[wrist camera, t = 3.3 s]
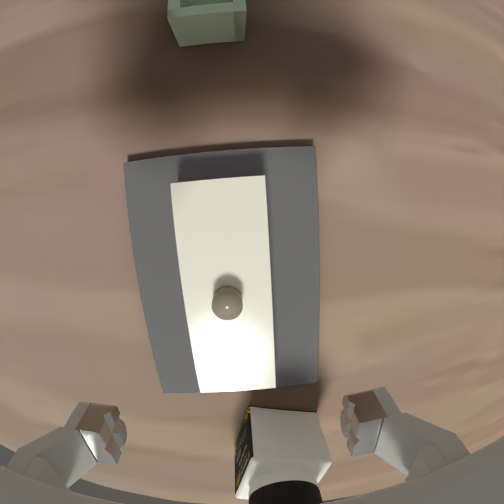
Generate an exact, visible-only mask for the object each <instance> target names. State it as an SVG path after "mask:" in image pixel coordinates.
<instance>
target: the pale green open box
mask: <svg viewBox="0 0 504 504" xmlns="http://www.w3.org/2000/svg"><path fill="white" fill-rule="evenodd" d="M246 12H247V10H246V0H168V12H167V19H168V22H169V24H170V26H171V28H172V31H173V33H174V35H175V37H176V40H177V42H178V44H179V46H180V47H184V46H192V45H201V44H210V43H221V42H236V41H244V40H245V26H246Z"/></svg>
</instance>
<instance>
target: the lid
mask: <svg viewBox="0 0 504 504" xmlns="http://www.w3.org/2000/svg"><path fill="white" fill-rule="evenodd" d="M170 186H171V198H172V208H173V218H174V228H175V237H176V245H177V253H178V261H179V269H180V277H181V284H182V291H183V298H184V304H185V311H186V317H187V323H188V329H189V335H190V341H191V347H192V352H193V358H194V363H195V368H196V373H197V378H198V383H199V388H200V393H206V392H229V391H245V390H258V389H269V388H276V381H275V355H274V331H273V309H272V289H271V269H270V251H269V233H268V216H267V200H266V184H265V175H263V176H247V177H234V178H221V179H210V180H199V181H189V182H179V183H170Z"/></svg>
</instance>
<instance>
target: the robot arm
mask: <svg viewBox="0 0 504 504" xmlns="http://www.w3.org/2000/svg"><path fill="white" fill-rule="evenodd" d="M342 404H343V407H344V409H343V411H342V412H341V417H340V421H341V429H342V432H343V435H344V436H345V437H347V438H348V441H347V446H348V448H349V451H350V453H351V456H352V457H354V456H359V455H364V454H368V453H373V452H375V454H376V455H378V456H379V457H381V458H382V459H383V460H385V461H386V462H388V463H389V464H391V465H392V466H393V467H395V468H396V469H398V470H399V471H401V472H402V473H404V474H405V475H407V478H406V479H405V481H404V482H403V483H400V484H397V485H394V486H391V487H388V488H384V489H381V490H378V491H374V492H370V493H367V494H363V495H359V496H355V497H351V498H346V499H342V500H337V501H332V502H327V503H321V504H504V436H503V437H501V438H500V439H498V440H496V441H495V442H493V443H491V444H489V445H487V446H486V447H484V448H482V449H480V450H478V451H476V452H474V453H472V454H470V453H469V451H468V450H467V449H466V447H465V446H464V444H463V443H462V442H461V440H460V439H459V438H458V436H457V435H456V434H455V433H453V432H450V431H448V430H445V429H443V428H440V427H438V426H436V425H433V424H431V423H428V422H426V421H424V420H421V419H419V418H417V417H414V416H412V415H410V414H408V413H401V411H400V410H399V408H398V407H397V405H396V404H395V402H394V400H393V399H392V397H391V396H390V394H389V393H388V391H387V390H386V388H385V387H379V388H375V389H371V390H367V391H362V392H358V393H353V394H348V395H344V397H343V401H342ZM119 415H120V412H119V410H118V408H117V407H116V406H112V405H104V404H97V403H88V402H80V403H78V405H77V406H76V408H75V410H74V411H73V413H72V414H71V416H70V418H69V419H68V421H67V423H66V424H65V426H64V427H59V428H57V429H55V430H54V431H52V432H50V433H48V434H46V435H44V436H42V437H40V438H39V439H37V440H35V441H33V442H31V443H29V444H27V445H25V446H23V447H21V448H19V449H18V450H17V452H16V453H15V455H14V456H13V458H12V460H11V461H10V463H9V464H8V466H7V467H6V468H5V467H3V466H1V465H0V504H122V503H117V502H112V501H107V500H102V499H98V498H93V497H89V496H85V495H82V494H78V493H74V492H71V491H70V490H69V489H68V487H70V486H71V485H72V484H73V483H75V482H76V481H77V480H78V479H79V478H81V477H82V476H83V475H84V474H85V473H87V472H88V471H89V470H90V469H91V468H92V467H94V466H95V465H96V464H97V462H99V463H105V464H112V465H117V464H118V461H119V458H120V455H121V451H120V449H119V448H120V447H122V446H123V445H125V442H126V437H127V431H126V426H125V424H124V422H123V421H122V420H121V419H120V418H118V417H119Z"/></svg>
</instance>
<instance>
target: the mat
mask: <svg viewBox="0 0 504 504" xmlns="http://www.w3.org/2000/svg"><path fill="white" fill-rule="evenodd" d="M124 174H125V186H126V197H127V206H128V215H129V224H130V232H131V239H132V246H133V253H134V260H135V266H136V272H137V278H138V284H139V289H140V295H141V300H142V305H143V310H144V315H145V320H146V324H147V329H148V334H149V338H150V342H151V347H152V351H153V355H154V359H155V363H156V367H157V371H158V374H159V378H160V382H161V386H162V389H163V393H198V392H200V388H199V383H198V378H197V373H196V368H195V363H194V358H193V352H192V347H191V341H190V335H189V329H188V323H187V317H186V311H185V304H184V298H183V291H182V284H181V277H180V269H179V261H178V253H177V245H176V237H175V228H174V218H173V208H172V198H171V186H170V183H179V182H189V181H199V180H210V179H221V178H234V177H247V176H263V175H265V184H266V200H267V216H268V233H269V251H270V269H271V289H272V309H273V331H274V355H275V381H276V388H277V387H286V386H294V385H302V384H310V383H317V374H318V351H319V314H320V247H319V210H318V187H317V168H316V152H315V146H297V147H269V148H251V149H236V150H223V151H212V152H201V153H192V154H183V155H174V156H166V157H159V158H151V159H144V160H138V161H131V162H125V163H124Z"/></svg>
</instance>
